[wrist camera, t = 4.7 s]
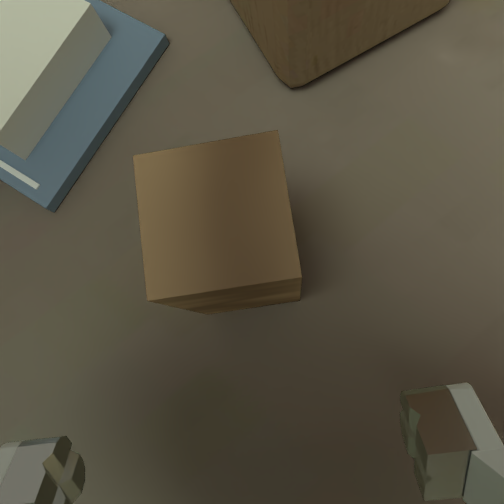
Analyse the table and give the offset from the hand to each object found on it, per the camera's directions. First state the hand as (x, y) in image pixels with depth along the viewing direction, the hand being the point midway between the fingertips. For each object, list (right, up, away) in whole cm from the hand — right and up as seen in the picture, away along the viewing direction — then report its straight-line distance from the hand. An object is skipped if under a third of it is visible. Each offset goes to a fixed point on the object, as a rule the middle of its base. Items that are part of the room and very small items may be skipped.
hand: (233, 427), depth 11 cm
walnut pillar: (0, +4, +11) cm, 12 cm away
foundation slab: (-13, +14, +13) cm, 23 cm away
